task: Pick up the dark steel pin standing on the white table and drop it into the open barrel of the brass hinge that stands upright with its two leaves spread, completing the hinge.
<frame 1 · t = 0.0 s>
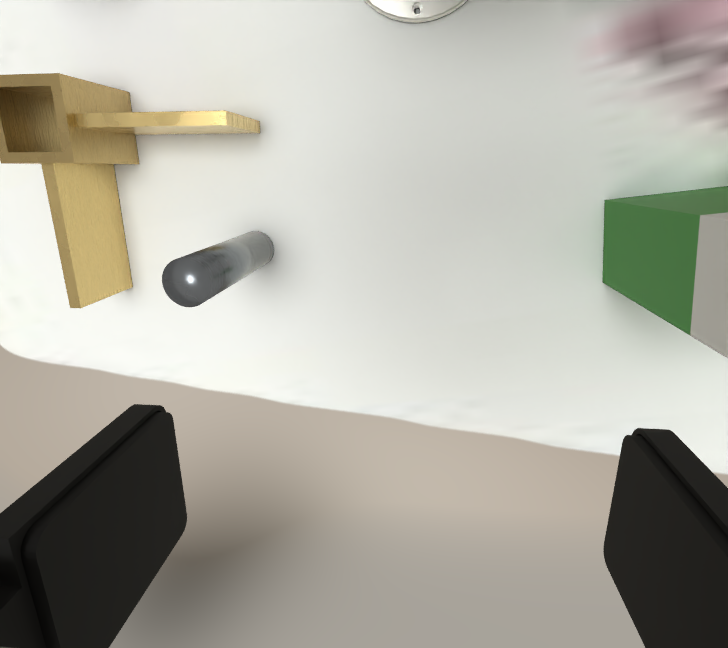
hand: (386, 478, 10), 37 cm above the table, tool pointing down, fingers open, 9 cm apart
hardback book: (708, 231, 42), on the table
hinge: (103, 129, 45), on the table
pin: (256, 248, 47), on the table
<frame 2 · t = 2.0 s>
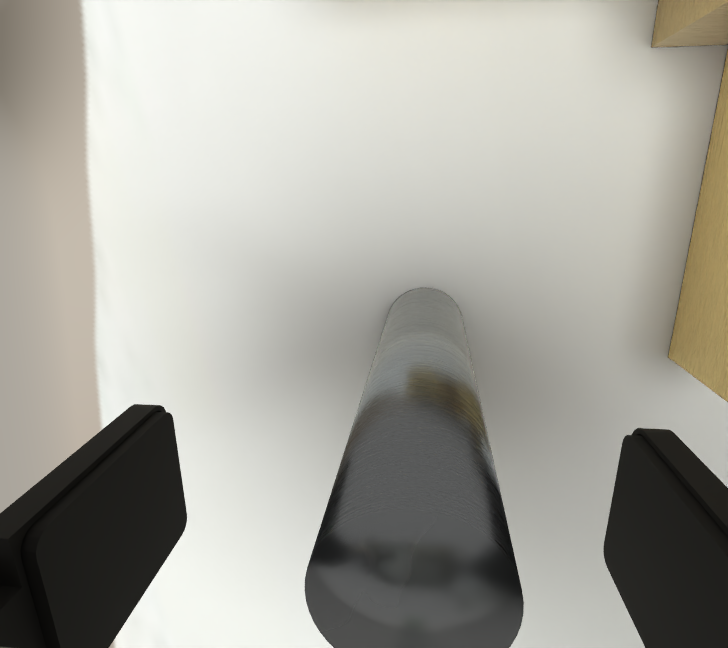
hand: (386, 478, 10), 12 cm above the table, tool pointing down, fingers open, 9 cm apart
pin: (424, 324, 22), on the table
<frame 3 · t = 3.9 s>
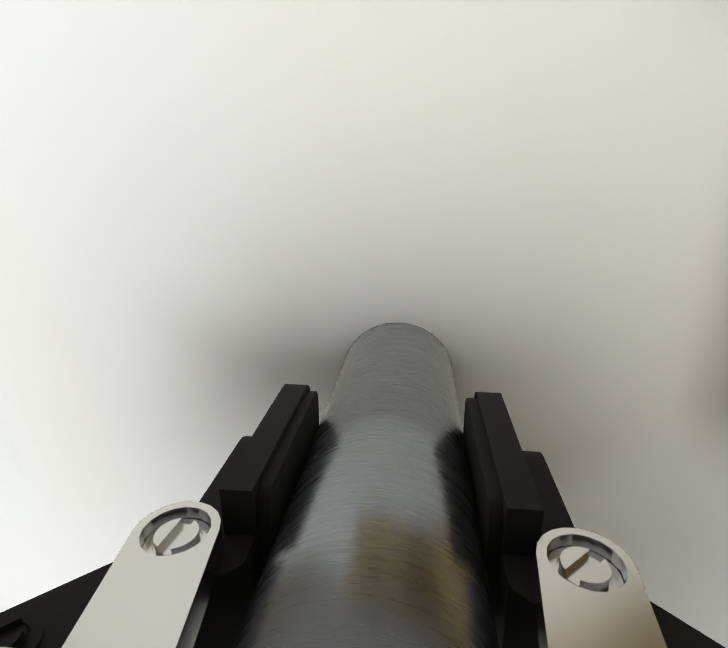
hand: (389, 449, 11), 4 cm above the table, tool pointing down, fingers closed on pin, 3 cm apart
pin: (397, 374, 15), on the table, touching gripper
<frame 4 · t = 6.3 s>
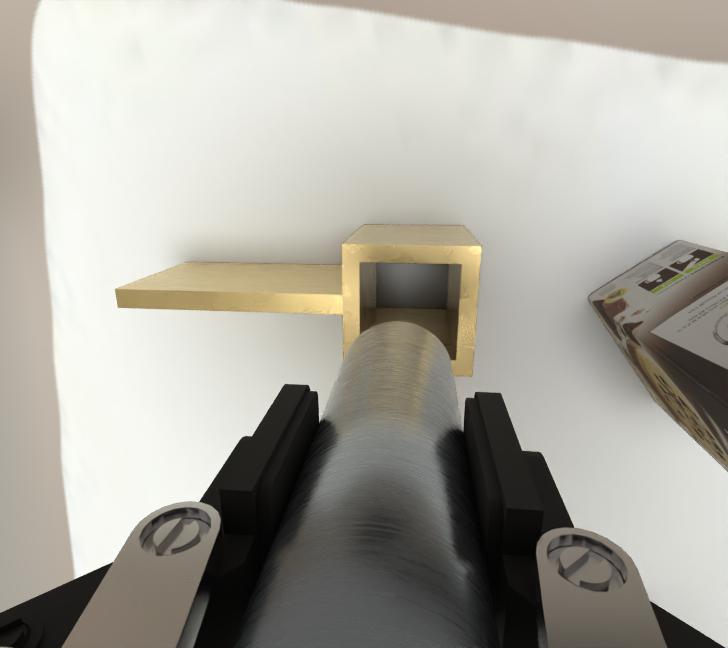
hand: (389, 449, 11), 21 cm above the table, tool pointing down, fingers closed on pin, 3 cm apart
coffee box: (665, 325, 30), on the table
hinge: (411, 273, 31), on the table
pin: (397, 373, 15), point 17 cm above the table, touching gripper
when the fingers open (10 cm above the table, at t = 8.6 s): pin drops 6 cm, resting in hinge.
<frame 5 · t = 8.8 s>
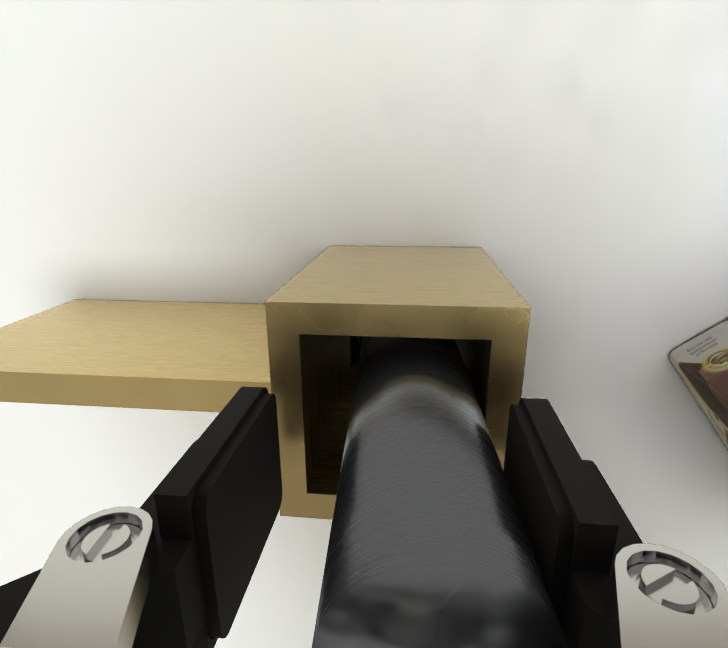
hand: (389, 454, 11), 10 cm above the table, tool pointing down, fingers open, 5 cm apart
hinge: (402, 318, 21), on the table
pin: (405, 318, 21), resting in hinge, touching gripper
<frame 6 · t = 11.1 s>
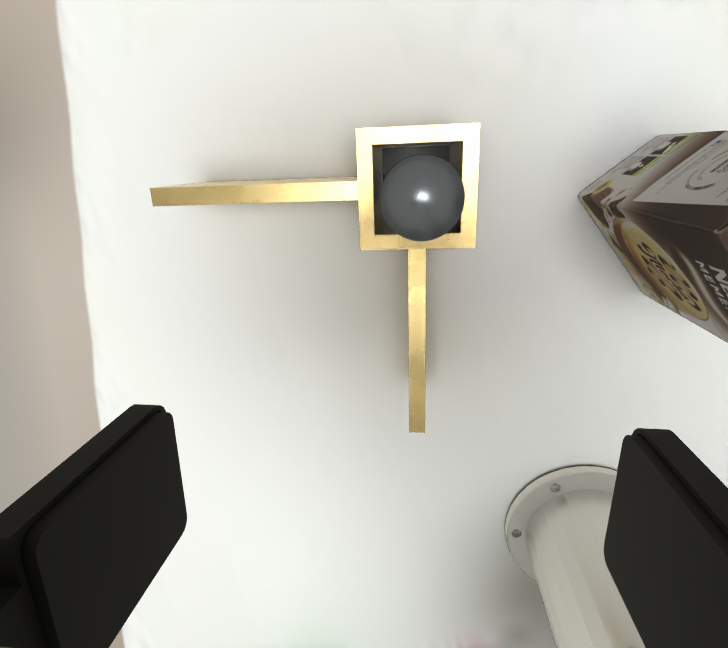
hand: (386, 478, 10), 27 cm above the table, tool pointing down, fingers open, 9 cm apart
coffee box: (649, 219, 33), on the table
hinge: (415, 182, 33), on the table
pin: (417, 181, 33), resting in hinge
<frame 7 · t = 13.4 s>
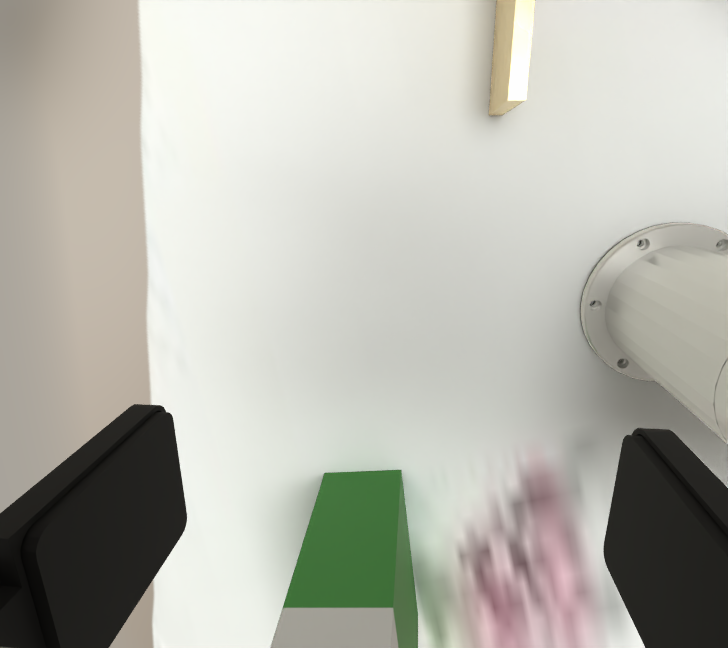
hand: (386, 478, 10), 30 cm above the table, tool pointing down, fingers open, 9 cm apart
hardback book: (373, 545, 48), on the table
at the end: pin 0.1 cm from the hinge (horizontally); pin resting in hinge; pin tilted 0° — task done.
